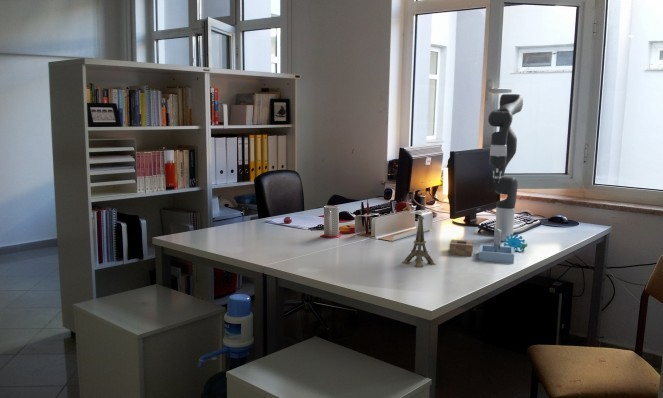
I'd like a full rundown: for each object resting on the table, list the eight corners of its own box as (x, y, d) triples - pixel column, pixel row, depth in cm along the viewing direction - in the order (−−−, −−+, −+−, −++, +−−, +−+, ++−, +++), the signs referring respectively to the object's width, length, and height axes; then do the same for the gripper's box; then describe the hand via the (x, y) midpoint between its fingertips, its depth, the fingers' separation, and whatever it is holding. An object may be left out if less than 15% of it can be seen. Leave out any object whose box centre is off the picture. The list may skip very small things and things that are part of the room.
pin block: (451, 249, 275) (451, 239, 274) (472, 251, 272) (473, 241, 272) (449, 254, 266) (449, 243, 265) (471, 256, 263) (472, 245, 262)
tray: (480, 252, 270) (480, 244, 269) (513, 255, 266) (513, 247, 265) (478, 260, 256) (479, 251, 255) (513, 263, 251) (514, 254, 251)
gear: (500, 247, 275) (506, 230, 279) (500, 253, 279) (506, 237, 284) (524, 253, 270) (529, 236, 275) (523, 259, 274) (529, 243, 279)
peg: (493, 254, 262) (494, 229, 261) (499, 255, 262) (501, 229, 260) (492, 256, 260) (494, 230, 258) (499, 256, 259) (501, 230, 257)
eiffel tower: (418, 268, 241) (421, 209, 237) (401, 262, 249) (403, 206, 245) (436, 264, 247) (438, 207, 243) (418, 259, 255) (421, 204, 252)
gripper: (490, 153, 274) (488, 187, 276) (489, 155, 260) (487, 190, 263) (506, 154, 272) (504, 187, 274) (506, 156, 258) (504, 191, 260)
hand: (496, 189), depth 268 cm, fingers open, 8 cm apart
